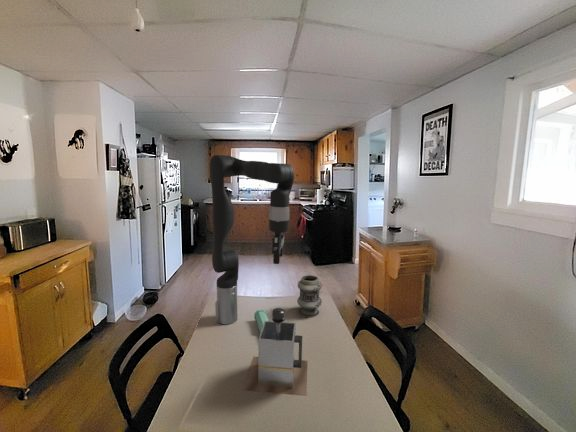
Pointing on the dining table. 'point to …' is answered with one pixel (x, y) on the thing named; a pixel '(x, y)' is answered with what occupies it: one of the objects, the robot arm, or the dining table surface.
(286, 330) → the square mug
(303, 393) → the walnut board
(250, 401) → the dining table surface
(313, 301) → the apothecary jar
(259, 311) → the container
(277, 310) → the plunger
